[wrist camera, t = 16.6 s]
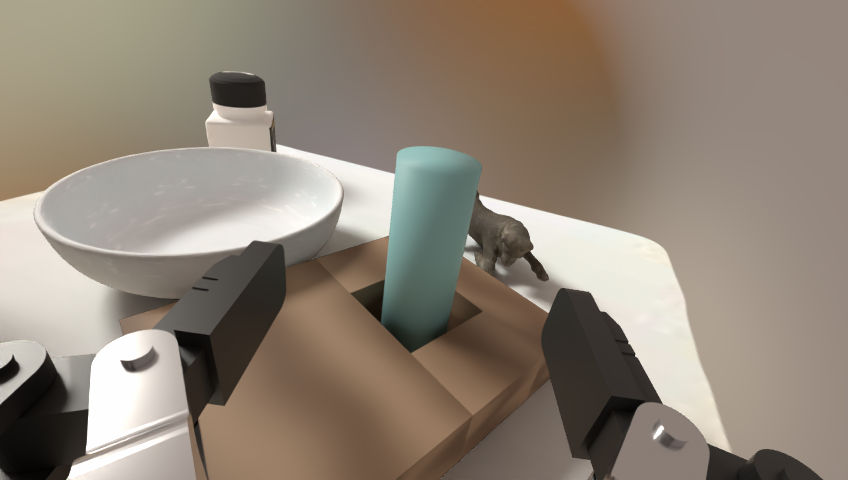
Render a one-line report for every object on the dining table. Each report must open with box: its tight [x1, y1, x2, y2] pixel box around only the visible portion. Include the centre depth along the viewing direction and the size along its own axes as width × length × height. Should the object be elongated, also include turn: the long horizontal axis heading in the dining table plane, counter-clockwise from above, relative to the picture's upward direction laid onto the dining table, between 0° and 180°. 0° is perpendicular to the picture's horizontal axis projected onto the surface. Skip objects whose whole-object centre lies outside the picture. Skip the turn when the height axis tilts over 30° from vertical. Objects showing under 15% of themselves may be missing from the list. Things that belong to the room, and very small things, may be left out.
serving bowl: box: [33, 147, 344, 299], centre depth 32 cm, size 21×21×7 cm
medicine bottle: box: [205, 72, 276, 152], centre depth 48 cm, size 7×7×12 cm
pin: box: [381, 146, 482, 353], centre depth 24 cm, size 5×5×14 cm
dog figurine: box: [468, 191, 549, 281], centre depth 36 cm, size 12×6×7 cm, turn 34°
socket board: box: [119, 236, 550, 480], centre depth 24 cm, size 22×16×4 cm
